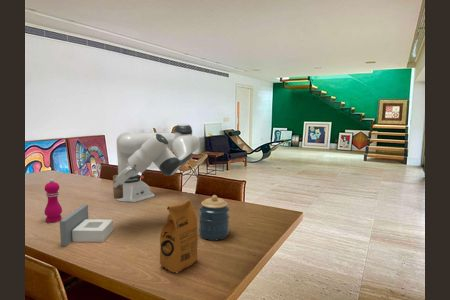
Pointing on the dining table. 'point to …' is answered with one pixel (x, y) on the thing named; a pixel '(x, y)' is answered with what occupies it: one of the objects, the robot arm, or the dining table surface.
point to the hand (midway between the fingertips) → (116, 184)
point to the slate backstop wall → (72, 224)
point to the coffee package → (179, 238)
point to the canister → (213, 218)
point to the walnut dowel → (117, 189)
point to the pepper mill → (52, 202)
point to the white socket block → (92, 230)
